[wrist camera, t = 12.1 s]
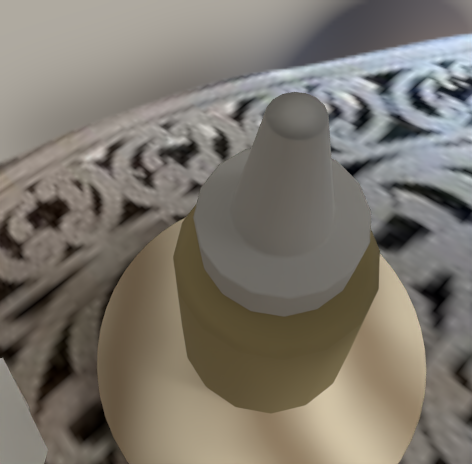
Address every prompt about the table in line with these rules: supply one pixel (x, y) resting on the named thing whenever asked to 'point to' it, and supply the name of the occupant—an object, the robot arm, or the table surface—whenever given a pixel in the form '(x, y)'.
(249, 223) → the squeeze bottle
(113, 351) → the round beige plate
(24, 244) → the table surface
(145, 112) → the table surface
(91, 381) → the table surface
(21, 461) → the robot arm
